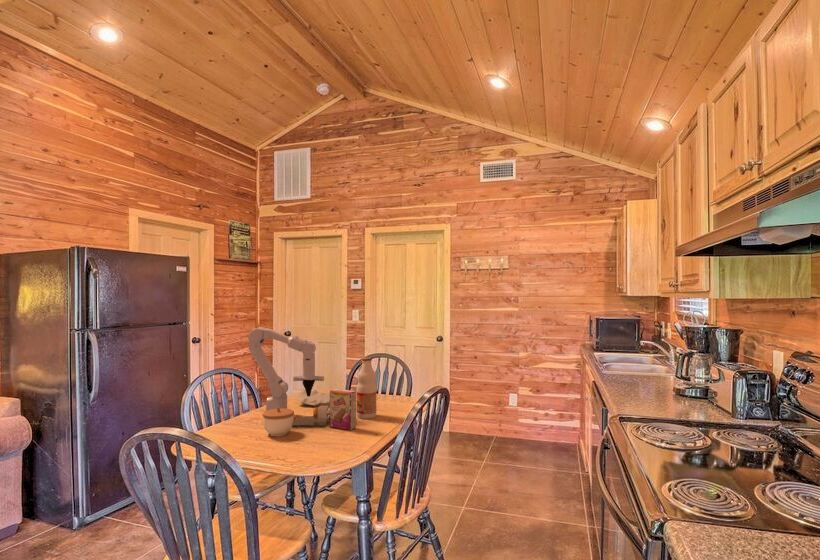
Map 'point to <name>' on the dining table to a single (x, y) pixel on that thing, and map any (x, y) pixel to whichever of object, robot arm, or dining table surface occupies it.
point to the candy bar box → (343, 409)
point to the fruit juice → (366, 390)
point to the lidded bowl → (278, 421)
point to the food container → (314, 398)
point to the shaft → (315, 412)
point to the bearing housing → (313, 419)
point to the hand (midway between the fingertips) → (308, 395)
